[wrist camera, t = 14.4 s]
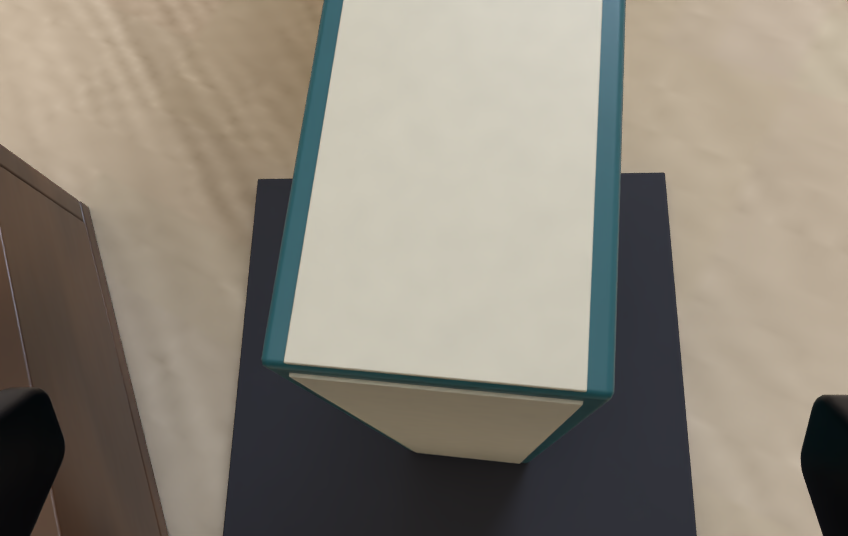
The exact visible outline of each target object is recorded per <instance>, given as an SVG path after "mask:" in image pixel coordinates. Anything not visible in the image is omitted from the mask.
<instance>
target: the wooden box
mask: <svg viewBox="0 0 848 536" xmlns="http://www.w3.org/2000/svg"><path fill="white" fill-rule="evenodd" d="M11 387H37V388H41V389H43V390H45V391H46V392H47V394H48V395H49V397H50V399H51V402H52V405H53V408H54V410H55V413H56V416H57V419H58V422H59V425H60V428H61V431H62V434H63V436H64V440H65V454H64V458H63V461H62V464H61V466H60V469H59V471H58V473H57V476H56V478H55V480H54V482H53V485H52V487H51V489H50V492H49V494H48V496H47V499H46V501H45V503H44V506H43V508H42V510H41V513H40V515H39V517H38V520H37V522H36V524H35V526H34V529H33V531H32V533H31V536H168V532H167V528H166V524H165V519H164V515H163V511H162V507H161V503H160V499H159V495H158V491H157V487H156V483H155V479H154V474H153V470H152V466H151V462H150V458H149V454H148V450H147V446H146V442H145V438H144V433H143V429H142V425H141V421H140V417H139V413H138V409H137V405H136V401H135V397H134V393H133V388H132V384H131V380H130V376H129V372H128V368H127V364H126V360H125V356H124V352H123V347H122V343H121V339H120V335H119V331H118V327H117V323H116V319H115V315H114V311H113V307H112V302H111V298H110V294H109V290H108V286H107V282H106V278H105V274H104V270H103V266H102V261H101V257H100V253H99V249H98V245H97V241H96V237H95V233H94V229H93V225H92V221H91V216H90V212H89V208H88V207H87V206H86V205H85V204H83V203H82V202H79V201H78V200H77V199H76V198H74V197H73V196H72V195H70V194H69V193H67V192H66V191H65V190H63V189H62V188H60V187H59V186H58V185H56V184H55V183H54V182H52V181H51V180H49V179H48V178H47V177H45V176H44V175H42V174H41V173H40V172H38V171H37V170H36V169H34V168H33V167H31V166H30V165H29V164H27V163H26V162H24V161H23V160H22V159H20V158H19V157H18V156H16V155H15V154H13V153H12V152H11V151H9V150H8V149H6V148H5V147H4V146H2V145H1V144H0V391H2V390H4V389H6V388H11Z"/></svg>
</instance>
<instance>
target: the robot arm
mask: <svg viewBox="0 0 848 536" xmlns="http://www.w3.org/2000/svg"><path fill="white" fill-rule="evenodd" d="M64 454H65V440H64V436H63V434H62V431H61V428H60V425H59V422H58V419H57V416H56V413H55V410H54V408H53V405H52V402H51V399H50V397H49V395H48V394H47V392H46V391H45V390H43V389H41V388H37V387H11V388H6V389H4V390H2V391H0V536H31V533H32V531H33V529H34V526H35V524H36V522H37V520H38V517H39V515H40V513H41V510H42V508H43V506H44V503H45V501H46V499H47V496H48V494H49V492H50V489H51V487H52V485H53V482H54V480H55V478H56V476H57V473H58V471H59V469H60V466H61V464H62V461H63V458H64ZM801 468H802V473H803V476H804V479H805V482H806V485H807V488H808V491H809V494H810V497H811V500H812V504H813V507H814V510H815V513H816V516H817V519H818V522H819V525H820V528H821V531H822V534H823V536H848V395H822V396H820V397H819V398H817V399H816V401H815V402H814V405H813V407H812V411H811V415H810V419H809V423H808V427H807V431H806V435H805V438H804V442H803V446H802V451H801Z"/></svg>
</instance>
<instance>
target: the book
mask: <svg viewBox="0 0 848 536" xmlns="http://www.w3.org/2000/svg"><path fill="white" fill-rule="evenodd" d="M625 7H626V0H324V3H323V8H322V14H321V20H320V25H319V31H318V37H317V43H316V48H315V54H314V60H313V65H312V71H311V77H310V83H309V88H308V94H307V100H306V105H305V111H304V117H303V123H302V128H301V134H300V140H299V145H298V151H297V157H296V163H295V168H294V174H293V180H292V185H291V191H290V197H289V203H288V208H287V214H286V220H285V225H284V231H283V237H282V243H281V248H280V254H279V260H278V265H277V271H276V277H275V283H274V288H273V294H272V300H271V306H270V311H269V317H268V323H267V328H266V334H265V340H264V346H263V351H262V357H261V360H262V364H263V366H264V367H266V368H268V369H269V370H271V371H273V372H275V373H276V374H278V375H280V376H282V377H283V378H285V379H287V380H289V381H290V382H292V383H294V384H295V385H297V386H299V387H301V388H302V389H304V390H306V391H308V392H309V393H311V394H313V395H314V396H316V397H318V398H320V399H321V400H323V401H325V402H327V403H328V404H330V405H332V406H333V407H335V408H337V409H339V410H340V411H342V412H344V413H346V414H347V415H349V416H351V417H353V418H354V419H356V420H358V421H359V422H361V423H363V424H365V425H366V426H368V427H370V428H372V429H373V430H375V431H377V432H378V433H380V434H382V435H384V436H385V437H387V438H389V439H391V440H392V441H394V442H396V443H397V444H399V445H401V446H403V447H404V448H406V449H408V450H410V451H414V452H416V453H424V454H433V455H442V456H452V457H461V458H470V459H480V460H489V461H499V462H508V463H517V464H520V463H528V462H530V461H531V460H532V459H534V458H535V457H536V456H537V455H539V454H540V453H541V452H543V451H544V450H545V449H547V448H548V447H549V446H550V445H552V444H553V443H554V442H556V441H557V440H558V439H560V438H561V437H562V436H563V435H565V434H566V433H567V432H569V431H570V430H571V429H573V428H574V427H575V426H576V425H578V424H579V423H580V422H582V421H583V420H584V419H586V418H587V417H588V416H589V415H591V414H592V413H593V412H595V411H596V410H597V409H599V408H600V407H601V406H602V405H604V404H605V403H606V402H608V401H609V400H610V399H611V398H612V396H613V394H614V386H615V352H616V317H617V283H618V248H619V214H620V179H621V145H622V110H623V76H624V41H625Z"/></svg>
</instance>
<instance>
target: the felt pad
mask: <svg viewBox="0 0 848 536" xmlns="http://www.w3.org/2000/svg"><path fill="white" fill-rule="evenodd" d="M292 180H293V179H258V185H257V195H256V205H255V216H254V226H253V236H252V246H251V256H250V267H249V277H248V287H247V297H246V307H245V318H244V328H243V338H242V348H241V358H240V369H239V379H238V389H237V399H236V409H235V419H234V430H233V440H232V450H231V460H230V470H229V481H228V491H227V501H226V511H225V521H224V532H223V536H697V534H696V523H695V511H694V500H693V489H692V477H691V466H690V455H689V443H688V432H687V421H686V409H685V398H684V386H683V375H682V364H681V352H680V341H679V330H678V318H677V307H676V296H675V284H674V273H673V261H672V250H671V239H670V227H669V216H668V205H667V193H666V182H665V173H621V179H620V214H619V248H618V283H617V317H616V352H615V386H614V394H613V396H612V398H611V399H610V400H609V401H608V402H606V403H605V404H604V405H602V406H601V407H600V408H599V409H597V410H596V411H595V412H593V413H592V414H591V415H589V416H588V417H587V418H586V419H584V420H583V421H582V422H580V423H579V424H578V425H576V426H575V427H574V428H573V429H571V430H570V431H569V432H567V433H566V434H565V435H563V436H562V437H561V438H560V439H558V440H557V441H556V442H554V443H553V444H552V445H550V446H549V447H548V448H547V449H545V450H544V451H543V452H541V453H540V454H539V455H537V456H536V457H535V458H534V459H532V460H531V461H530V462H528V463H520V464H517V463H508V462H499V461H489V460H480V459H470V458H461V457H452V456H442V455H433V454H424V453H416V452H414V451H410V450H408V449H406V448H404V447H403V446H401V445H399V444H397V443H396V442H394V441H392V440H391V439H389V438H387V437H385V436H384V435H382V434H380V433H378V432H377V431H375V430H373V429H372V428H370V427H368V426H366V425H365V424H363V423H361V422H359V421H358V420H356V419H354V418H353V417H351V416H349V415H347V414H346V413H344V412H342V411H340V410H339V409H337V408H335V407H333V406H332V405H330V404H328V403H327V402H325V401H323V400H321V399H320V398H318V397H316V396H314V395H313V394H311V393H309V392H308V391H306V390H304V389H302V388H301V387H299V386H297V385H295V384H294V383H292V382H290V381H289V380H287V379H285V378H283V377H282V376H280V375H278V374H276V373H275V372H273V371H271V370H269V369H268V368H266V367H264V366H263V364H262V360H261V357H262V351H263V346H264V340H265V334H266V328H267V323H268V317H269V311H270V306H271V300H272V294H273V288H274V283H275V277H276V271H277V265H278V260H279V254H280V248H281V243H282V237H283V231H284V225H285V220H286V214H287V208H288V203H289V197H290V191H291V185H292Z"/></svg>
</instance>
